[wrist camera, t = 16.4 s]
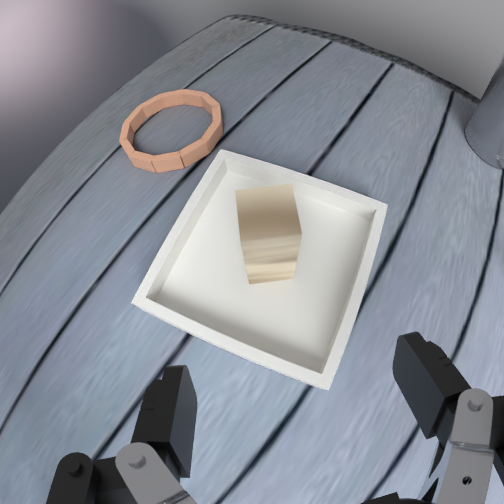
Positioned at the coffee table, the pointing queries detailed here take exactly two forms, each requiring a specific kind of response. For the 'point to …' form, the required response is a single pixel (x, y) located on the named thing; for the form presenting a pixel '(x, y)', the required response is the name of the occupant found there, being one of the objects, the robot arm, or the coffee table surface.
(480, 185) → the coffee table surface
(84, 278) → the coffee table surface
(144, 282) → the tray
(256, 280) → the birch block
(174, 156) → the orange ring
